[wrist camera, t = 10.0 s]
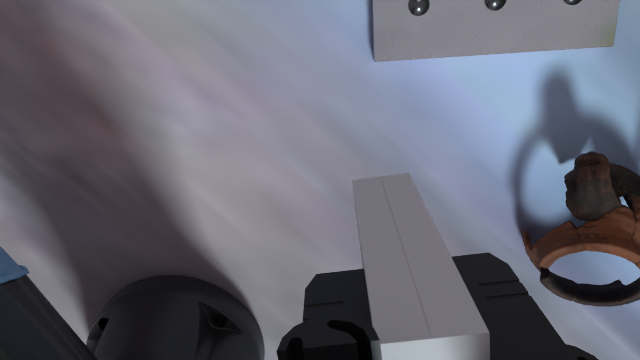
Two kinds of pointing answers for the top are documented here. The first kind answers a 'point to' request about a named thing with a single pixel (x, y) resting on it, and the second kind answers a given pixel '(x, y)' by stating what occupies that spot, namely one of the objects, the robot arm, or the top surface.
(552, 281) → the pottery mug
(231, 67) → the top surface
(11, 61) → the top surface
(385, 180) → the robot arm
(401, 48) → the hinge
